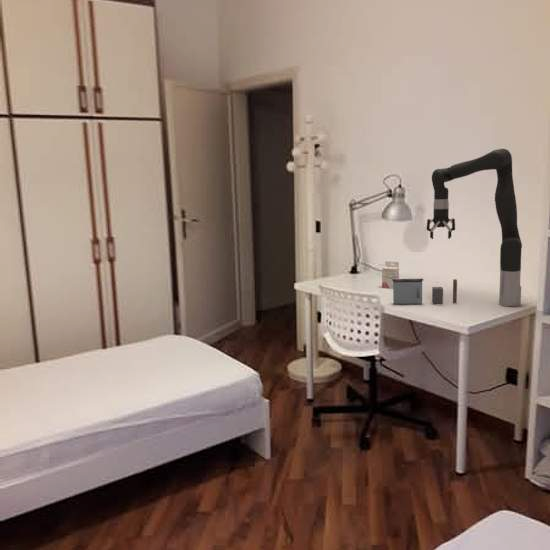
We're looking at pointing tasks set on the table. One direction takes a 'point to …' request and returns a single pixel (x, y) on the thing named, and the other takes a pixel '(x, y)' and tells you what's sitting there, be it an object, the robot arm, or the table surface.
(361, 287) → the table surface
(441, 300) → the block
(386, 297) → the table surface
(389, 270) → the ink cartridge box
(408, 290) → the grey block
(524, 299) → the table surface
